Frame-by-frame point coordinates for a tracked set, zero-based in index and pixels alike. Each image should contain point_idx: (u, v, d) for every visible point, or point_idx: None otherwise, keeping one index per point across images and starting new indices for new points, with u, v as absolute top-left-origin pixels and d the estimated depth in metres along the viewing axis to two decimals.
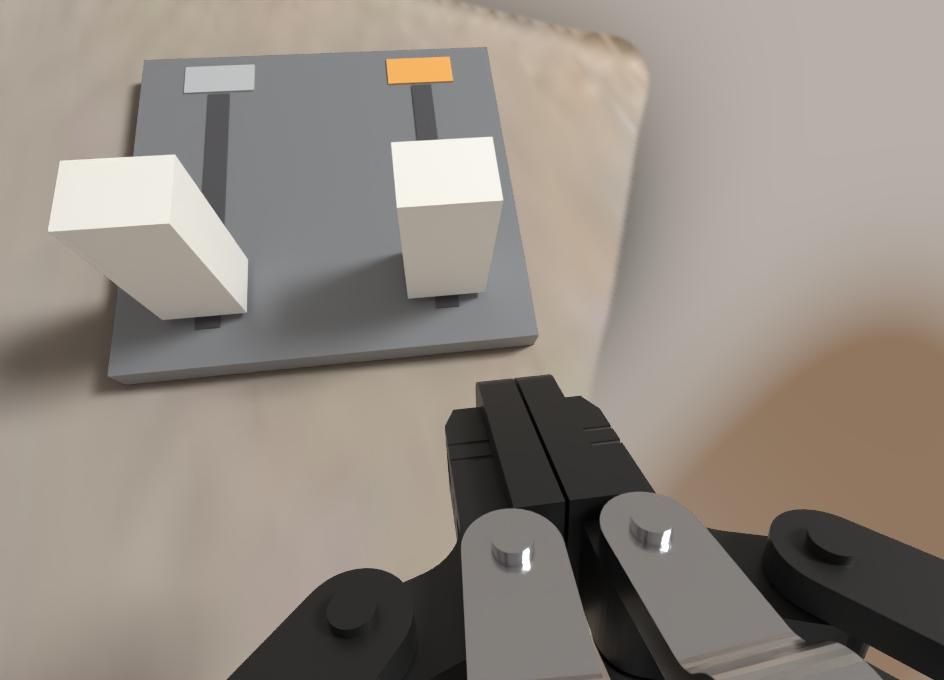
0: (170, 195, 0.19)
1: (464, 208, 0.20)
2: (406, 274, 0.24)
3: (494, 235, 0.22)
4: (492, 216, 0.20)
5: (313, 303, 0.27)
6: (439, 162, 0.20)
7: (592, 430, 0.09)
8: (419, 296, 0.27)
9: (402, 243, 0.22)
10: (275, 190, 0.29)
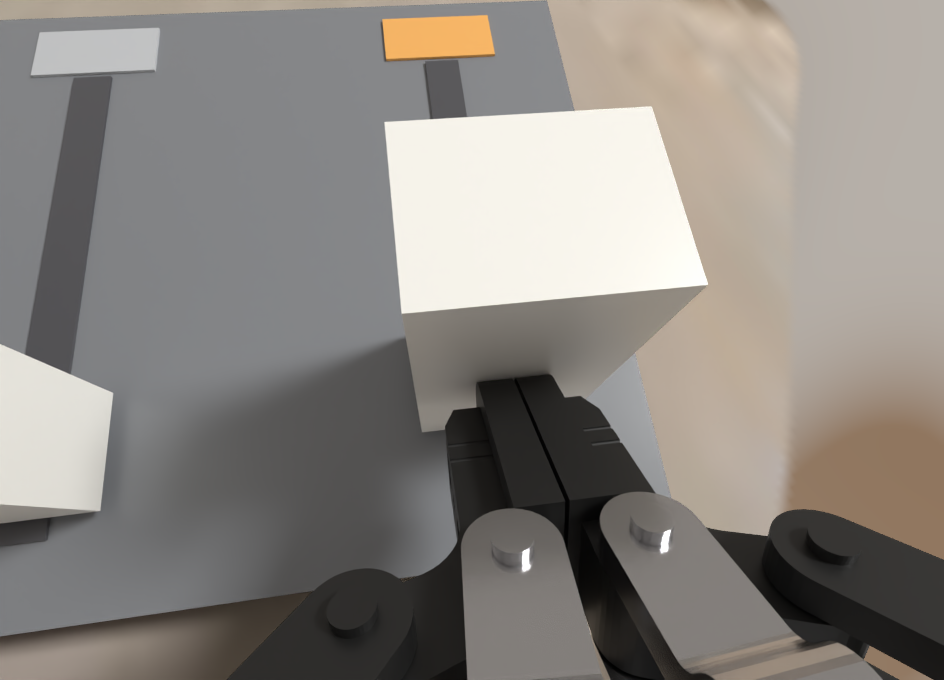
0: None
1: (593, 306, 0.07)
2: (421, 409, 0.11)
3: (635, 349, 0.09)
4: (654, 317, 0.08)
5: (239, 480, 0.14)
6: (518, 176, 0.07)
7: (592, 430, 0.09)
8: (444, 428, 0.14)
9: (415, 373, 0.09)
10: (181, 250, 0.16)
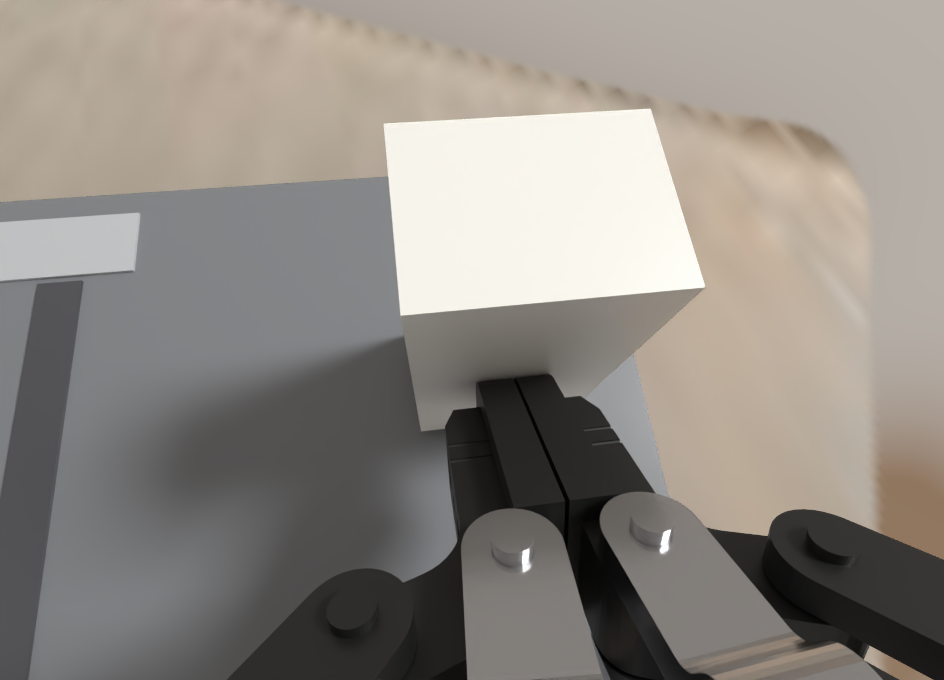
0: None
1: (591, 308, 0.07)
2: (420, 408, 0.11)
3: (633, 350, 0.09)
4: (652, 319, 0.08)
5: None
6: (517, 178, 0.07)
7: (592, 430, 0.09)
8: (443, 427, 0.14)
9: (413, 373, 0.09)
10: (161, 522, 0.13)
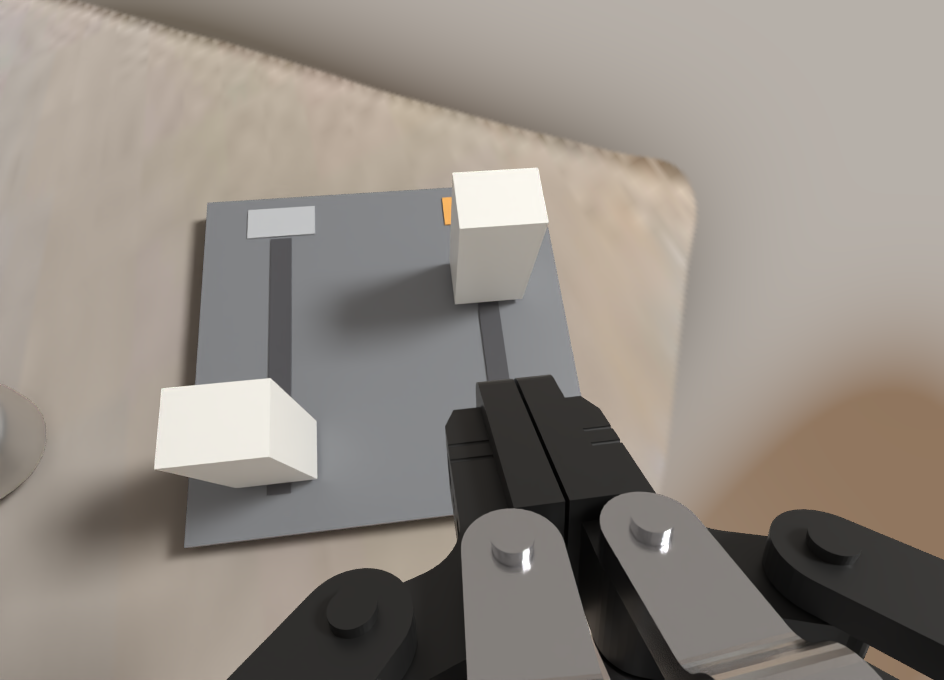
0: (268, 425, 0.19)
1: (515, 229, 0.23)
2: (457, 283, 0.28)
3: (537, 251, 0.26)
4: (537, 235, 0.24)
5: (380, 465, 0.27)
6: (493, 190, 0.24)
7: (592, 430, 0.09)
8: (465, 302, 0.30)
9: (458, 257, 0.25)
10: (339, 342, 0.29)
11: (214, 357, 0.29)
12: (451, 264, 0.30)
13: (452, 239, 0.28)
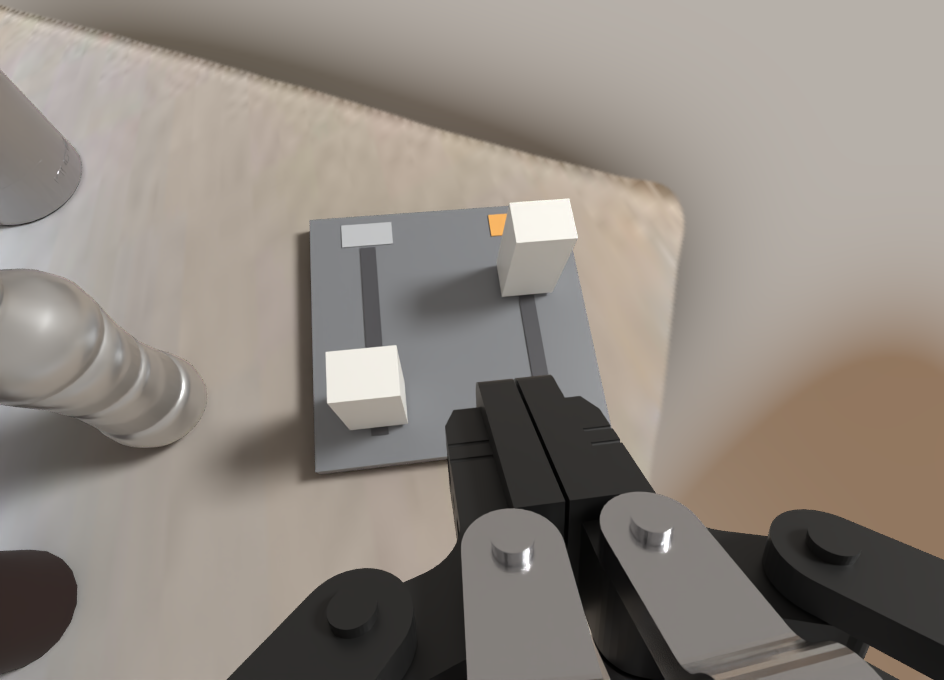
0: (397, 375, 0.29)
1: (554, 242, 0.33)
2: (506, 281, 0.38)
3: (567, 257, 0.35)
4: (569, 246, 0.34)
5: None
6: (539, 215, 0.34)
7: (592, 430, 0.09)
8: (509, 295, 0.40)
9: (511, 262, 0.35)
10: (417, 326, 0.39)
11: (325, 337, 0.39)
12: (499, 266, 0.40)
13: (503, 248, 0.38)
